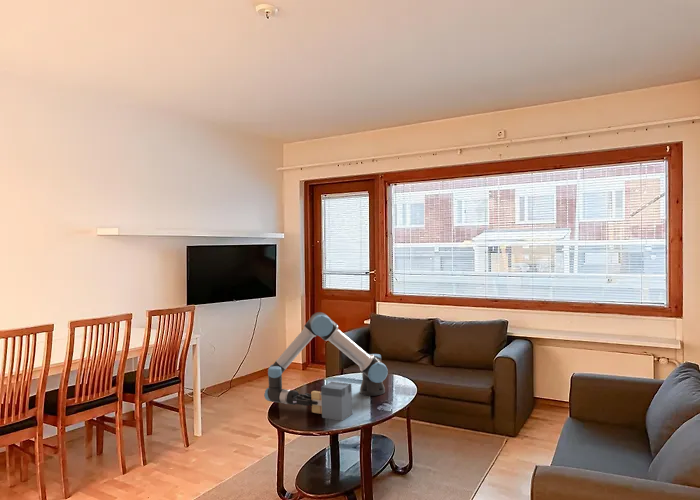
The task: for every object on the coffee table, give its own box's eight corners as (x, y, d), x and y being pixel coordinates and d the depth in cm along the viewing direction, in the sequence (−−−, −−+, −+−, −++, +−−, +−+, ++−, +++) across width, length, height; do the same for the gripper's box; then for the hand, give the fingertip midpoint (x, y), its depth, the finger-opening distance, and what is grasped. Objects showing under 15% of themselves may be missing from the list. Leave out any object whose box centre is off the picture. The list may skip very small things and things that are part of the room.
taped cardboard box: (311, 412, 268) (311, 391, 268) (314, 410, 271) (313, 390, 271) (336, 416, 261) (335, 395, 261) (338, 414, 264) (337, 393, 264)
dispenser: (321, 417, 261) (320, 386, 261) (331, 410, 271) (330, 381, 270) (342, 420, 255) (341, 389, 255) (352, 414, 265) (351, 383, 265)
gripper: (298, 399, 284) (334, 404, 273) (280, 408, 269) (317, 414, 258) (298, 386, 284) (334, 390, 273) (280, 394, 269) (317, 399, 258)
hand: (325, 402), depth 266 cm, fingers open, 4 cm apart
